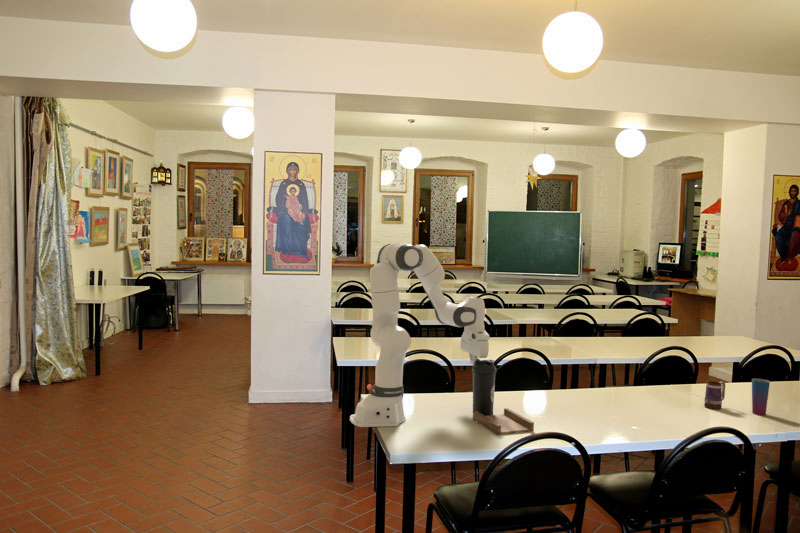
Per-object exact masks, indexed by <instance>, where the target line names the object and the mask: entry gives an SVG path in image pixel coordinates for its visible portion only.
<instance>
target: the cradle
mask: <svg viewBox="0 0 800 533" xmlns="http://www.w3.org/2000/svg"><path fill="white" fill-rule="evenodd" d="M472 419H473V421H474V422H476V421H477V423H478V424H479V425H481V426H482V427H484V428H486V429H487V430H489V431H490V432H491V433H493V434H495V435H496V436H501V435H502V436H504V435H512V434H513V435H514V434H523V433H532V432H534V428H535V422H534V421H532V420H530V419H528V418H526V417H525V416H522V415H521V414H519V413H517V412H515V411H513V410H511V409H509V408H506V407H505V408H504V409H503V414H493V415H490V416H484V415H483V414H481V413H479V412H478V411H473V410H472Z"/></svg>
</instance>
